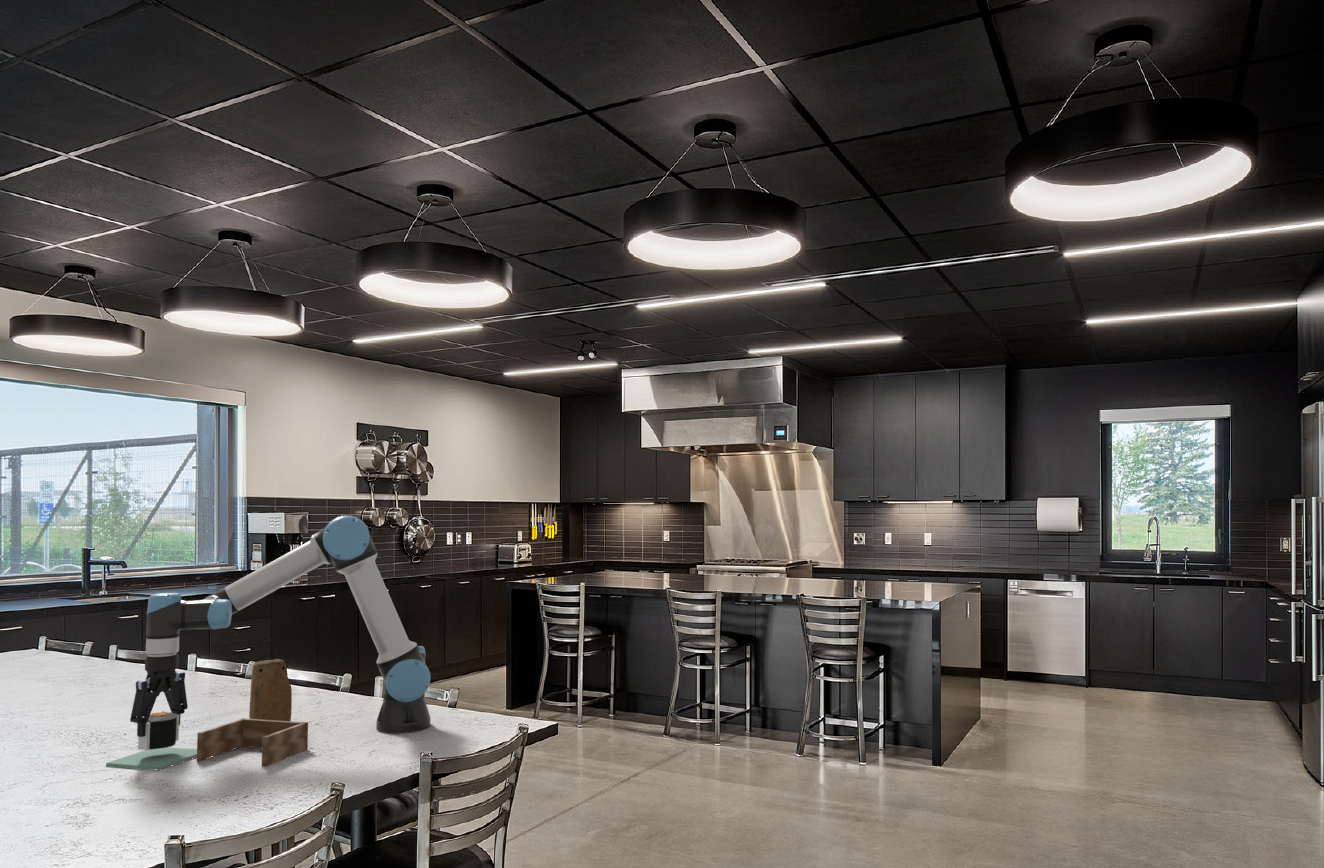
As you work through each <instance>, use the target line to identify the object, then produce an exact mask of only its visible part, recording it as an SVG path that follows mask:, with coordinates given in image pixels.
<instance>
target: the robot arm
mask: <svg viewBox="0 0 1324 868" xmlns="http://www.w3.org/2000/svg"><path fill="white" fill-rule="evenodd" d="M377 557H378V551H377V549H376V546H375V544H374V542H373V539H372V538H371V535H370V530H369V528H368V526H367V525H366V523H365V522H364V521H363V520H362V519H360V518H359V517H357V516H354V515H350V514H343V515H340V516H337V517H335V518H333V519H331V520H330V522H329V523H328V524H326V526H325V527H324V528H322V529H321V530H318V532H316V533H314V534H312V535H311V537H310V540H308V541H306V542H305V543H304V544H302V545H299V546H298V547H296V548H295V549H292V550H290V551H289V552H287V553H285V554H283V555H282V556H280V557H278V558H276V559H274V560H273V561H270V562H269V563H267V564H265V565H263V566H261V567H259V568H258V569H256V570H254V571H252V572H251V573H249V574H247V575H245V576H243V577H241V578H240V579H238V580H236V581H234V582H233V583H230V584H229V585H226V586H225V587H224V588H222V589H219V590H218V591H216V592H214V593H212V594H209V595H208V596H206V597H204V598H203V599H197V600H196V599H195V600H194V599H193V600H183V599H182V595H181V594H180V592H159V593H153V594H152V595H150V596H149V597H148V602H147V611H146V633H145V634H146V635H145V638H146V639H145V640H146V641H145V654H146V656H145V658H144V671H146V673H147V674H146V677H145V679H143V680H136V681H135V695H134V699H133V704H132V709H131V714H130V719H129V721H130V722H131V723H133V724H136V725H137V727H136V728H137V729H136V735H137V737H138V738H137V742H138V743H137V750H141V751H145V750H149V743H150V723H148V719H149V716H150V715H151V714H152V710H153V708H154V705H155V704H156V700H157V698H158V697H159V696H160V694H161V693H164V696H165V698H166V702H167V704H168V707H169V709H170V713H172V714H174V713H176V714H177V720H176V742H177V741H179V733H180V732H179V731H180V726H181V716H182V714H185V712H186V711H185V710H187V709H188V699H187V691H186V682H185V679H186V673H185V672H184V671H183V672H182V671H179V672H178V671H176V670H177V669H178V667H179V660H180V659H179V657H180V656H179V654H178V652H179V651H180V631H182V630H183V631H186V630H218V629H227V628H229V626H231V622H232V615H234V614H236V613H237V612H239V611H241V610H243V609H245V608H246V607H248V606H250V605H252V604H254V603H255V602H257V601H259V600H261V599H263V598H265V597H266V596H268V595H270V594H272V593H274V592H275V591H277V590H278V589H281V588H283V587H284V586H286V585H287V584H289V583H291V582H294V581H295V580H297V579H298V578H300V577H301V576H304V575H306V574H308V573H309V572H311V571H313V570H315V569H316V568H319V567H320V566H322V565H325V564H326V565H331V564H332V565H333V566H334V568H335V571H336V573H339V574H343V575H344V577H345V580H346V581H347V584H348V586H349V589H350V590H351V591H350V592H351V593H352V596H353V597H354V600H355V602H356V605H357V606H358V609H359V611H360V614H361V616H362V618H363V620H364V623H365V625H366V627H367V630H368V632H369V634H370V637H371V639H372V641H373V643H374V645H375V648H376V650H377V653H378V657H377V659H376V665H377V668H378V670H379V673H380V674H381V677H382V680H383V683H382V684H383V690H382V691H383V692H382V695H383V697H382V703H381V707H380V710H379V712H378V715H377V719H376V724H375V725H376V731H378V732H381V733H388V734H403V733H405V734H406V733H412V732H418V731H422V730H426V729H427V728H429V727H430V726H431V720H432V719H431V715H430V712H429V707H428V706H427V702H426V697H425V694H426V692H427V691H428V689H429V687H430V684H431V678H432V677H431V676H432V675H431V671H430V669H429V667H428V666H427V664H426V657H427V653H426V648H425V646H423V645H418V644H417V642H416V641H412V640H409V637H408V635H407V633H406V630H405V628H404V626H403V624H402V621H401V618H400V616H399V614H398V612H397V609H396V607H395V605H394V602H393V601H392V600H393V599H392V597H391V596H390V593H389V590H388V589H387V587H386V584H385V582H384V580H383V577H382V575H381V572H380V570H379V568H378V566H377V564H376V559H377ZM143 717H144V718H143Z"/></svg>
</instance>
